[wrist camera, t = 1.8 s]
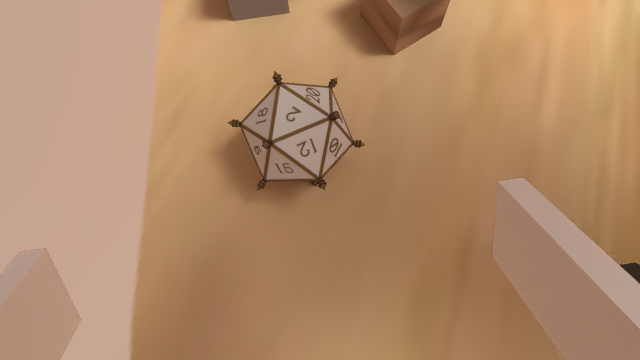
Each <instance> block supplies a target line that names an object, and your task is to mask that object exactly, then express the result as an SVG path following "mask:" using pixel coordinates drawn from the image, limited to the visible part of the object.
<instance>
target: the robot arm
mask: <svg viewBox="0 0 640 360" xmlns="http://www.w3.org/2000/svg"><path fill="white" fill-rule="evenodd" d="M492 257H493V259H494V260H495V261H496V263H497V264H498V266H499V267H500V269H501V270H502V271H503V273H504V274H505V276H506V277H507V278H508V280H509V281H510V283H511V284H512V286H513V287H514V288H515V290H516V291H517V293H518V294H519V295H520V297H521V298H522V300H523V301H524V303H525V304H526V305H527V307H528V308H529V310H530V311H531V312H532V314H533V315H534V317H535V318H536V320H537V321H538V322H539V324H540V325H541V327H542V328H543V330H544V331H545V332H546V334H547V335H548V337H549V338H550V339H551V341H552V342H553V344H554V345H555V347H556V348H557V349H558V351H559V352H560V354H561V355H562V356H563V358H564V359H565V360H640V265H639V264H637V263H630V264H624V265H619V264H617V263H616V262H615V261H614V260H613V259H612V258H611V257H610V256H609V255H608V254H607V253H605V252H604V251H603V250H602V249H601V248H600V247H599V246H598V245H597V244H596V243H595V242H593V241H592V240H591V239H590V238H589V237H588V236H587V235H586V234H585V233H584V232H583V231H581V230H580V229H579V228H578V227H577V226H576V225H575V224H574V223H573V222H572V221H571V220H570V219H568V218H567V217H566V216H565V215H564V214H563V213H562V212H561V211H560V210H559V209H558V208H556V207H555V206H554V205H553V204H552V203H551V202H550V201H549V200H548V199H547V198H546V197H544V196H543V195H542V194H541V193H540V192H539V191H538V190H537V189H536V188H535V187H534V186H532V185H531V184H530V183H529V182H528V181H527V180H526V179H525V178H524V177H522V178H516V179H509V180H502V181H498V185H497V199H496V213H495V226H494V240H493V254H492ZM80 321H81V318H80V316H79V314H78V312H77V310H76V308H75V306H74V304H73V302H72V300H71V298H70V296H69V294H68V292H67V290H66V288H65V285H64V283H63V281H62V279H61V277H60V275H59V274H58V271H57V269H56V267H55V265H54V263H53V261H52V259H51V257H50V255H49V253H48V251H47V249H46V248H44V249H37V250H30V251H24V252H19V253H18V254H17V255H16V256H15V258H14V259H13V260H12V261H11V262H10V263H9V265H8V266H7V267H6V268H5V269H4V271H3V272H2V273H1V274H0V360H60V359H61V357H62V355H63V353H64V351H65V349H66V347H67V346H68V344H69V342H70V340H71V338H72V336H73V334H74V332H75V330H76V328H77V327H78V325H79V323H80Z"/></svg>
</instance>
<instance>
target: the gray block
mask: <svg viewBox="0 0 640 360" xmlns="http://www.w3.org/2000/svg"><path fill="white" fill-rule="evenodd" d="M227 2H228V5H229V8H230V11H231V14H232V17H233V20H234V21H237V20H244V19H251V18H258V17H264V16H271V15H278V14H285V13H289V7H288V1H287V0H227Z"/></svg>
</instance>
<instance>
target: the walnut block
mask: <svg viewBox="0 0 640 360" xmlns="http://www.w3.org/2000/svg"><path fill="white" fill-rule="evenodd" d="M449 2H450V0H362V4H361V16H362V17H363V18H364V19H365V21H366V22H367V23H368V24H369V25H370V27H371V28H372V29H373V30H374V31H375V33H376V34H377V35H378V36H379V38H380V39H381V40H382V41H383V42H384V44H385V45H386V46H387V47H388V48H389V50H390V51H391V52H392V53H393V55H395V54H397V53H398V52H400V51H402V50H403V49H405V48H407V47H408V46H410V45H411V44H413V43H415V42H416V41H418V40H420V39H421V38H423V37H425V36H426V35H428V34H429V33H431V32H433V31H434V30H436V29H438V28H439V27H441V24H442V21H443V19H444V16H445V13H446V10H447V8H448V5H449Z"/></svg>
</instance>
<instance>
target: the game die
mask: <svg viewBox="0 0 640 360" xmlns="http://www.w3.org/2000/svg"><path fill="white" fill-rule="evenodd" d="M280 76H281V75H280V74H278V73H277V72H275V71H274V76H273V79H274V82H276V85H274V86H273V88H272V89H271V90H270V92H269V93H268V94H267V95H266V96H265V97H264V98H263V99H262V100H261V101H260V102H259V103H258V104H257V106H256V107H255V108H254V109H253V110H252V111H251V112H250V113H249V114H248V115H247V116H246V117H245V118H244V120H243V121H242V122H239V121H238V120H237V121H236V120H234V119H233V120H232V121H230V122H228V123H229V124H230V125H232V127H233V126H234V127H241V129H242V131H243V134H244V136H245V138H246V141H247V143H248V145H249V148H250V150H251V152H252V155H253V157H254V159H255V162H256V164H257V166H258V169H259V171H260V173H261V175H262V178H263V180H262V181H260V183H259V184H257V185H258V189H257V191H258V190H260V189H264V186H266V185H265V184H266V182H269V181H312V184H313V185H316V186H317V184H318V185H319V187H320V188H322V189H324V190H325V186H326V183H325V180H323V179H322V178H323V177H324V176H325V175H326V173H327V172H328V171H329V170H330V169H331V168H332V167H333V166H334V165H335V164H336V162H337V161H338V160H339V159H340V158H341V157H342V156H343V155H344V154H345V153H346V151H347V150H348V149H349V148H350V147H351V146H352V145H354V146H355V147H361V146H363V145H365V144H364V143H362V142H361V140H360V141H358V140H356V141H353V139H352V137H351V134H350V132H349V129H348V127H347V124H346V122H345V120H344V117H343V115H342V112H341V110H340V108H339V105H338V103H337V100H336V98H335V95H334V93H333V91H332V88H333V87H335V85H336V84H337V78H334V79H331V81H330V82H329V86H318V85H307V84H295V83H284V82H281V79H282V78H281V77H280Z"/></svg>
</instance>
